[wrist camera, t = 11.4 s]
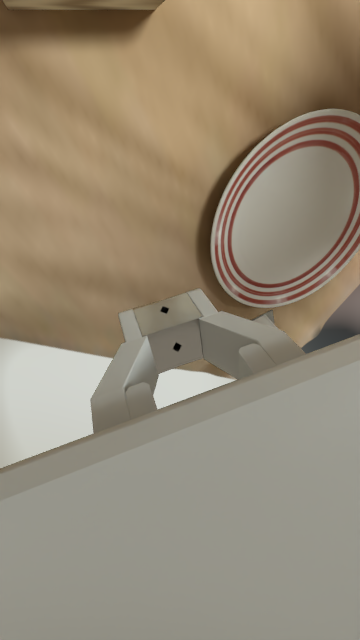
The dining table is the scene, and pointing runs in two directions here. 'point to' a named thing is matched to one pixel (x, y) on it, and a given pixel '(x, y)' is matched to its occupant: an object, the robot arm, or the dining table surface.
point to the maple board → (82, 4)
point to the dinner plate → (290, 211)
